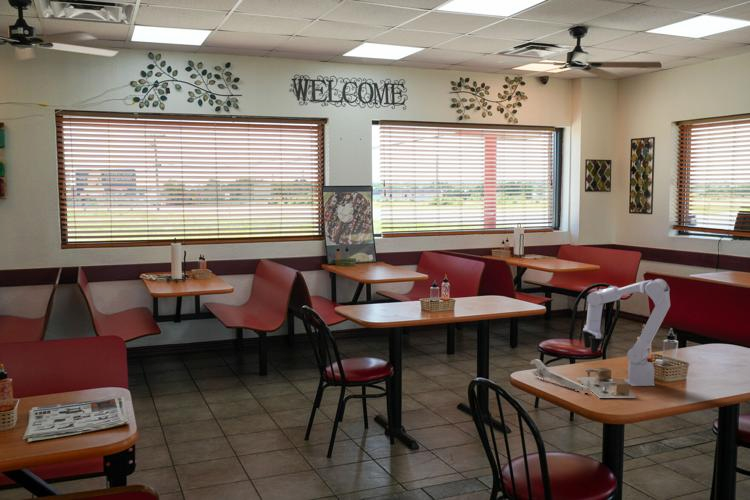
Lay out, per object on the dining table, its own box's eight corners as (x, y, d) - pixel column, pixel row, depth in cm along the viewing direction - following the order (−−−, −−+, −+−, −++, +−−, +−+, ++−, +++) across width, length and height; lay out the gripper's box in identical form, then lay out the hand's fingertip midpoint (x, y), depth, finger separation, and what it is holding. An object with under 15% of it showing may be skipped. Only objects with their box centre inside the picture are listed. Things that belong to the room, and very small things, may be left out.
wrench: (584, 402, 263) (528, 375, 288) (587, 401, 264) (531, 374, 289) (586, 382, 261) (530, 357, 286) (590, 381, 262) (533, 356, 287)
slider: (606, 375, 282) (606, 367, 282) (611, 379, 277) (611, 370, 277) (582, 376, 282) (582, 367, 282) (586, 379, 277) (586, 371, 277)
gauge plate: (609, 378, 283) (609, 367, 283) (635, 398, 257) (635, 385, 257) (576, 379, 283) (576, 367, 282) (599, 399, 257) (599, 386, 256)
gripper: (578, 314, 293) (575, 344, 295) (590, 323, 278) (587, 355, 280) (594, 315, 293) (591, 345, 295) (607, 324, 279) (604, 355, 281)
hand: (590, 350), depth 288 cm, fingers open, 7 cm apart
